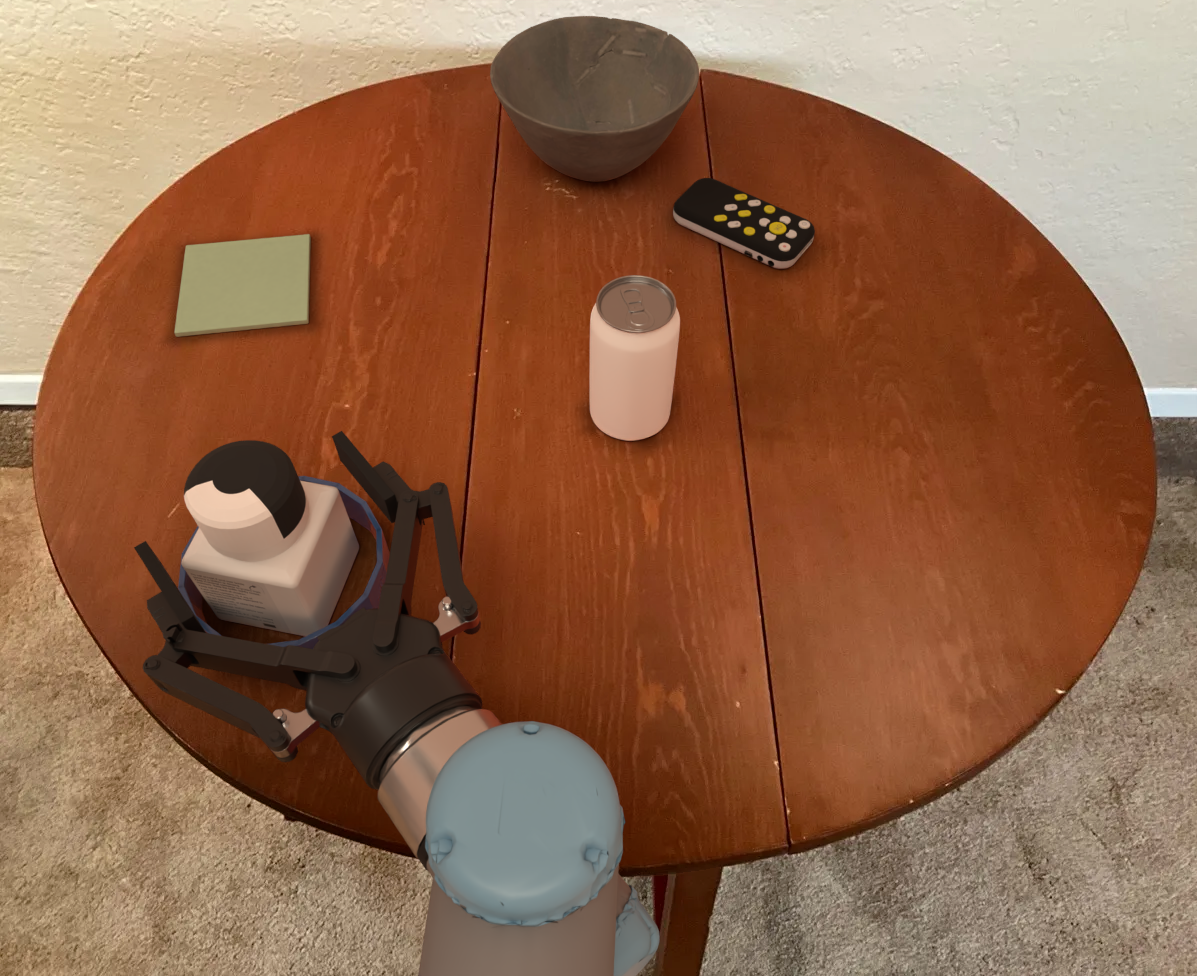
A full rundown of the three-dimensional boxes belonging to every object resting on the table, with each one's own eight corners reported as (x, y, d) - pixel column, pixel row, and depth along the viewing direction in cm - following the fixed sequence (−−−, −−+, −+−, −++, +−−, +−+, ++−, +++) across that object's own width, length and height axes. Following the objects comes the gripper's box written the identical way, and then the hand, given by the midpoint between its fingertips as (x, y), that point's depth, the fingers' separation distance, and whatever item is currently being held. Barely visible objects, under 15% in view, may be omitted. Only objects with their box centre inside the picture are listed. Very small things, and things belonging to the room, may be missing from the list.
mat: (176, 337, 81) (173, 333, 81) (187, 249, 88) (185, 245, 87) (308, 323, 82) (307, 319, 82) (310, 238, 89) (309, 233, 88)
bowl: (722, 142, 97) (734, 48, 89) (629, 250, 88) (633, 156, 80) (565, 85, 103) (563, -8, 95) (461, 181, 93) (449, 87, 85)
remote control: (700, 186, 93) (702, 169, 92) (818, 238, 89) (822, 221, 88) (666, 221, 90) (667, 204, 89) (785, 276, 86) (789, 259, 85)
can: (598, 449, 75) (600, 342, 65) (582, 387, 79) (581, 277, 69) (679, 437, 76) (692, 329, 66) (659, 376, 79) (669, 265, 70)
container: (261, 527, 71) (203, 415, 60) (362, 546, 70) (321, 435, 59) (216, 620, 66) (145, 517, 56) (323, 642, 65) (271, 541, 55)
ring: (189, 685, 64) (169, 662, 61) (204, 516, 71) (188, 488, 68) (394, 657, 65) (385, 633, 62) (388, 494, 72) (380, 466, 69)
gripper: (243, 918, 51) (84, 635, 60) (607, 648, 60) (420, 438, 70) (196, 885, 45) (27, 575, 54) (609, 590, 54) (404, 368, 63)
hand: (248, 498), depth 62 cm, fingers open, 13 cm apart
